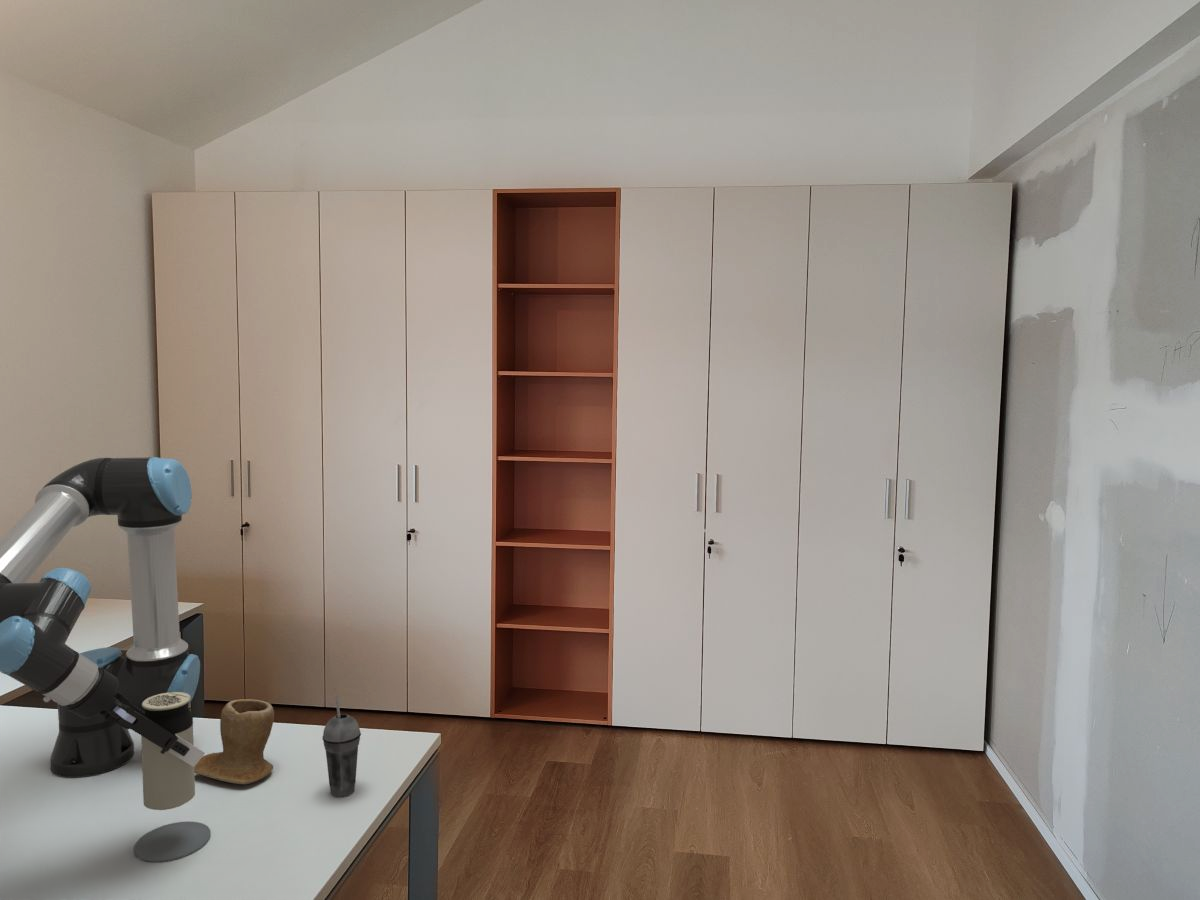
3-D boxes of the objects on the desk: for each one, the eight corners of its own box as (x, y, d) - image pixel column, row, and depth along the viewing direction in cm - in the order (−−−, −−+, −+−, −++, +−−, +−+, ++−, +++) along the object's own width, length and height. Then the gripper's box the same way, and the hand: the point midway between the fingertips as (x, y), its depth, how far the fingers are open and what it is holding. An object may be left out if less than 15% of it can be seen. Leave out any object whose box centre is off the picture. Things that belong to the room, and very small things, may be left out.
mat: (123, 842, 146) (123, 840, 146) (194, 816, 155) (194, 814, 155) (148, 871, 138) (148, 868, 138) (222, 842, 147) (221, 839, 147)
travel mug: (160, 816, 140) (157, 712, 138) (134, 803, 144) (130, 702, 143) (204, 796, 147) (201, 697, 145) (178, 784, 151) (175, 687, 149)
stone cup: (288, 768, 175) (286, 698, 173) (244, 794, 164) (242, 720, 162) (233, 754, 180) (231, 687, 179) (187, 779, 169) (185, 707, 168)
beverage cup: (369, 787, 167) (368, 690, 165) (344, 804, 160) (342, 703, 159) (341, 779, 170) (339, 684, 168) (315, 795, 163) (313, 697, 162)
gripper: (45, 689, 139) (151, 752, 153) (83, 726, 125) (197, 791, 138) (79, 651, 143) (181, 715, 156) (121, 682, 129) (228, 750, 142)
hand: (188, 751), depth 147 cm, fingers closed on travel mug, 8 cm apart
